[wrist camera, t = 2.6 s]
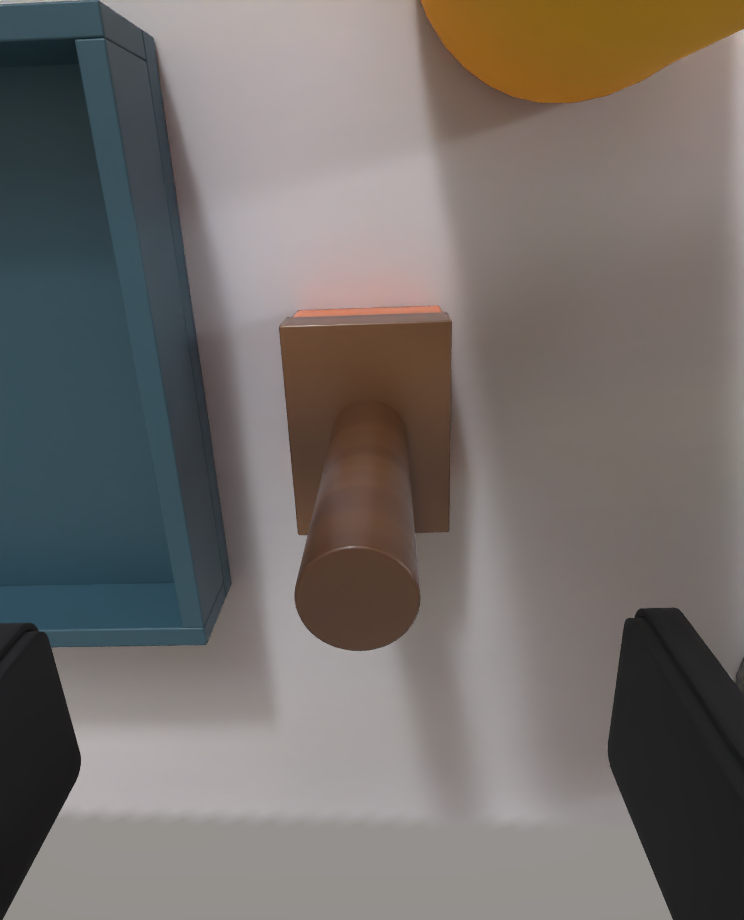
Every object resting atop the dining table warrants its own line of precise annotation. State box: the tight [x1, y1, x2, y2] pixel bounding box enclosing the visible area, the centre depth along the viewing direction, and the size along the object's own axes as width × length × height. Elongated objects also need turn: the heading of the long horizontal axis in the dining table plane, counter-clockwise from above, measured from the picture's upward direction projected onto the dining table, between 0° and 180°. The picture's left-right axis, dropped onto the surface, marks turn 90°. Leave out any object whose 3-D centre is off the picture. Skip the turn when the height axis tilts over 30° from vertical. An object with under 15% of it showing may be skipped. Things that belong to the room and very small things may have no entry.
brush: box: [279, 306, 452, 651], centre depth 18 cm, size 7×5×12 cm
